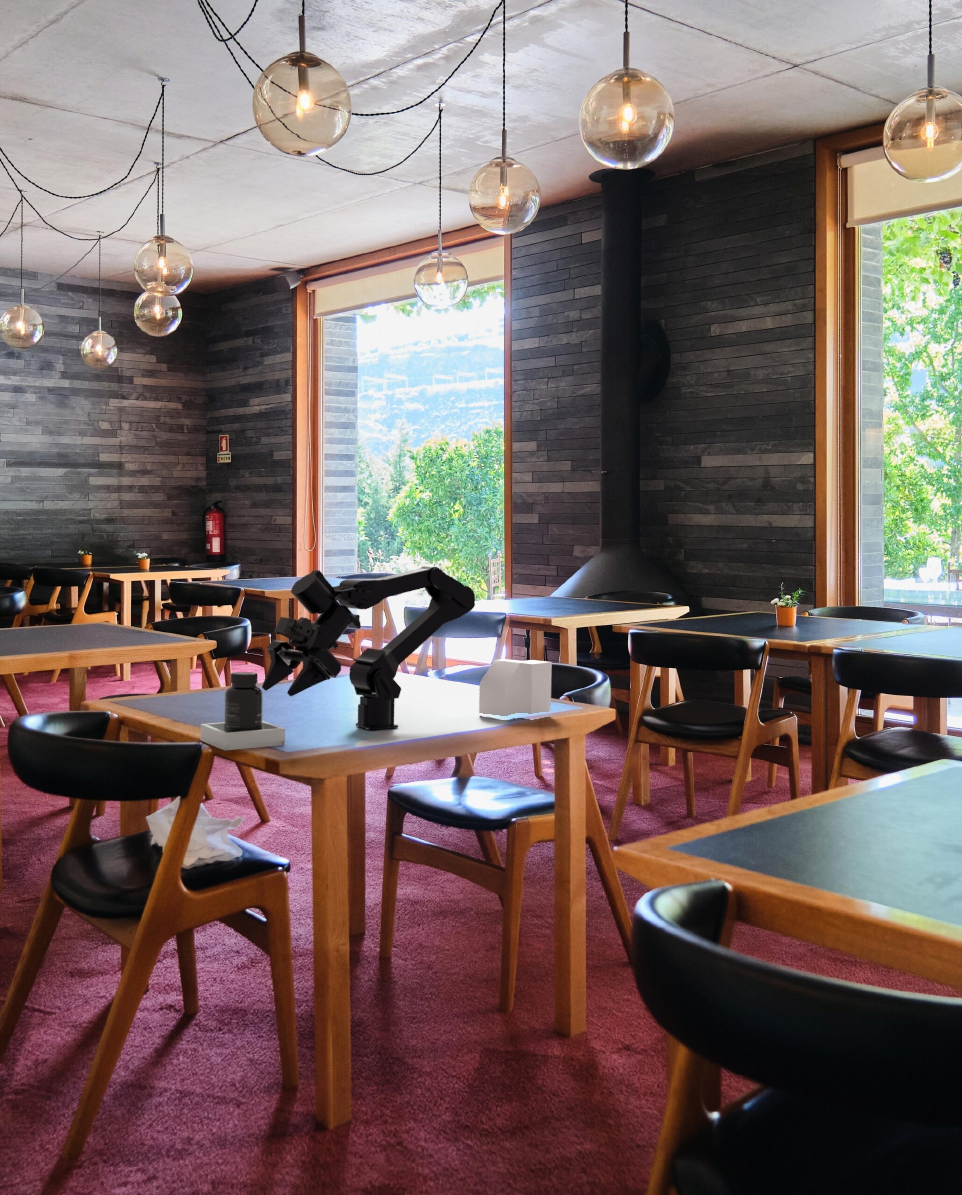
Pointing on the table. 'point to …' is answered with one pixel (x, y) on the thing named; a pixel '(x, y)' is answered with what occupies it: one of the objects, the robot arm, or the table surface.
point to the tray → (242, 736)
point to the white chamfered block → (516, 687)
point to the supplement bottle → (243, 703)
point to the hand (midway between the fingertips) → (276, 691)
